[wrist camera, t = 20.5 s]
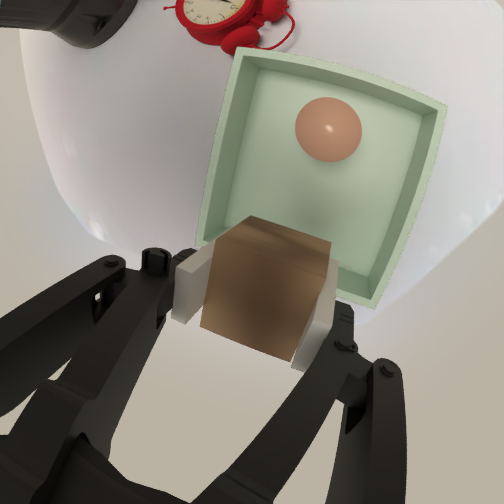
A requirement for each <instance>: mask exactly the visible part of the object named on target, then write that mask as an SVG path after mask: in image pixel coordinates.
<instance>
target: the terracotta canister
mask: <svg viewBox="0 0 504 504" xmlns="http://www.w3.org/2000/svg"><path fill="white" fill-rule="evenodd" d="M295 134H296V138H297V140H298V142H299V144H300V146H301V147H302V149H303V150H304V151H305V152H306V153H307V154H308V155H310V156H311V157H313V158H315V159H317V160H320V161H324V162H337V161H341V160H343V159H346V158H347V157H349V156H350V155H352V154H353V153H354V152H355V150H356V149H357V148H358V146H359V144H360V141H361V137H362V126H361V122H360V119H359V117H358V115H357V113H356V112H355V110H354V109H353V108H352V107H351V106H350V105H348V104H347V103H345V102H344V101H342V100H339V99H337V98H332V97H321V98H317V99H314V100H312V101H310V102H308V103H307V104H306V105H305V106H304V107H303V108H302V109H301V110H300V112H299V113H298V116H297V118H296V122H295Z"/></svg>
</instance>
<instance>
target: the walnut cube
mask: <svg viewBox="0 0 504 504" xmlns="http://www.w3.org/2000/svg"><path fill="white" fill-rule="evenodd" d="M331 243H332V242H329V241H326V240H323V239H321V238H318V237H315V236H312V235H309V234H306V233H303V232H300V231H297V230H294V229H291V228H288V227H285V226H282V225H279V224H276V223H273V222H270V221H267V220H264V219H261V218H258V217H255V216H252V215H250V216H249V217H247V218H246V219H244V220H243V221H241V222H240V223H239V224H237V225H236V226H234V227H233V228H231V229H230V230H228V231H227V232H226V233H224V234H223V235H221V236H220V237H218V238H217V239H216V240H215V245H214V250H213V255H212V256H213V257H212V263H211V268H210V273H209V278H208V284H207V289H206V295H205V300H204V305H203V311H202V316H201V322H200V327H202V328H204V329H207V330H209V331H212V332H213V333H216V334H218V335H221V336H223V337H226V338H228V339H230V340H233V341H235V342H238V343H240V344H243V345H245V346H248V347H250V348H253V349H255V350H258V351H260V352H263V353H266V354H269V355H271V356H274V357H277V358H279V359H282V360H285V361H288V362H290V361H291V359H292V357H293V355H294V353H295V350H296V348H297V346H298V343H299V340H300V338H301V335H302V333H303V331H304V329H305V326H306V324H307V322H308V320H309V317H310V315H311V313H312V310H313V308H314V305H315V303H316V301H317V298H318V296H319V295H320V293H321V290H322V288H323V285H324V283H325V280H326V277H327V270H328V264H329V257H330V250H331Z"/></svg>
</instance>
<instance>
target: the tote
mask: <svg viewBox="0 0 504 504" xmlns="http://www.w3.org/2000/svg"><path fill="white" fill-rule="evenodd" d="M321 97H332V98H337V99H339V100H342V101H344V102H345V103H347V104H348V105H350V106H351V107H352V108H353V109H354V110H355V112H356V113H357V115H358V117H359V119H360V122H361V126H362V137H361V141H360V144H359V146H358V148H357V149H356V150H355V152H354V153H353V154H352V155H350V156H349V157H347V158H346V159H343V160H341V161H337V162H324V161H320V160H317V159H315V158H313V157H311V156H310V155H308V154H307V153H306V152H305V151H304V150H303V149H302V147H301V146H300V144H299V142H298V140H297V138H296V134H295V122H296V118H297V116H298V113H299V112H300V110H301V109H302V108H303V107H304V106H305V105H306V104H307V103H308V102H310V101H312V100H314V99H317V98H321ZM447 108H448V106H447V105H445V104H443V103H441V102H439V101H437V100H435V99H433V98H431V97H428V96H426V95H424V94H422V93H419V92H417V91H415V90H412V89H410V88H408V87H405V86H403V85H400V84H397V83H395V82H392V81H390V80H387V79H384V78H381V77H378V76H375V75H372V74H369V73H366V72H363V71H360V70H357V69H353V68H350V67H346V66H343V65H339V64H335V63H331V62H327V61H323V60H319V59H314V58H310V57H305V56H300V55H295V54H289V53H283V52H277V51H270V50H263V49H255V48H245V47H237V48H236V52H235V56H234V59H233V63H232V67H231V71H230V74H229V78H228V82H227V86H226V90H225V94H224V98H223V103H222V107H221V111H220V115H219V120H218V124H217V129H216V133H215V138H214V142H213V147H212V152H211V157H210V162H209V167H208V172H207V177H206V182H205V187H204V193H203V198H202V204H201V209H200V215H199V221H198V227H197V233H196V239H195V245H196V246H198V247H201V248H202V247H204V246H205V245H206V244H208V243H209V242H211V241H212V240H213V239H215V238H216V237H218V236H219V235H220V234H222V233H223V232H225V231H226V230H228V229H229V228H230V227H232V226H233V225H237V224H239V223H240V222H241V221H243V220H244V219H246V218H247V217H249V216H250V215H252V216H255V217H258V218H261V219H264V220H267V221H270V222H273V223H276V224H279V225H282V226H285V227H288V228H291V229H294V230H297V231H300V232H303V233H306V234H309V235H312V236H315V237H318V238H321V239H323V240H326V241H329V242H332V243H331V250H330V258H333V259H335V260H338V261H339V266H338V278H337V288H336V296H337V297H340V298H343V299H345V300H348V301H351V302H354V303H357V304H360V305H363V306H366V307H368V308H371V309H374V310H375V308H376V306H377V304H378V302H379V300H380V298H381V296H382V294H383V292H384V290H385V288H386V286H387V284H388V282H389V280H390V278H391V276H392V273H393V271H394V269H395V267H396V265H397V262H398V260H399V258H400V256H401V253H402V251H403V249H404V246H405V244H406V241H407V239H408V237H409V234H410V232H411V229H412V226H413V224H414V221H415V219H416V216H417V213H418V211H419V208H420V205H421V202H422V199H423V196H424V193H425V190H426V187H427V184H428V181H429V178H430V175H431V172H432V168H433V165H434V161H435V158H436V154H437V151H438V147H439V143H440V139H441V135H442V131H443V127H444V122H445V118H446V113H447Z"/></svg>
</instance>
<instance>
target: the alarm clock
mask: <svg viewBox="0 0 504 504" xmlns="http://www.w3.org/2000/svg"><path fill="white" fill-rule="evenodd" d="M168 8H175V11H176V16H177V18H178V20H179V21H180V23H181V24H182V25H183V26H184V27H186V28H187V30H188V32H189V33H190V35H191V36H192V37H194V38H195V39H196V40H198V41H200V42H202V43H205V44H209V45H220V46H221V48H222V50H223V51H224V52H225V53H227V54H230V55H235V52H236V48H237V47H245V48H255V49H263V50H271V49H274V48H276V47H278V46H279V45H281V44H282V43H283V42H284V41H285V40H286V39H287V38H288V37H289V36H290V34H291V33H292V31H293V29H294V26H295V21H294V19H293V18H292V17H291V16H290V15H289V14H288V13H287V12H285V10H286V8H289V6H287V0H177V1H176V5H175V6H171V7H164V8H163V9H164V10H166V9H168ZM284 13H285V14H286V15H287V16H288V17H289V18H290V19H291V21H292V27H291V30H290V31H289V33H288V34H287V35H286V37H285V38H284V39H283V40H282V41H280V42H279V43H278V44H276V45H275V46H273V47H270V48H260V47H257V46H255V45H256V44H257V43H258V41H259V38H260V35H259V32H258V31H257V29H258V28H259V27H260V26H261V27H263V25H264V21H265V20H266V21H272V22H274V21H277V20H279V19H280V18H281V17H282V16H283V14H284Z"/></svg>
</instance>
